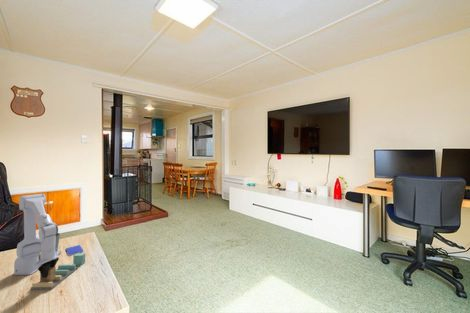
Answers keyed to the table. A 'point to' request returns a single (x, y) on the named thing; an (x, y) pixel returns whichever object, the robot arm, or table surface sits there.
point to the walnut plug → (49, 275)
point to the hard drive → (74, 250)
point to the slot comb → (60, 275)
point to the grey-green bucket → (57, 242)
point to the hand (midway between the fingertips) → (47, 275)
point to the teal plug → (79, 259)
